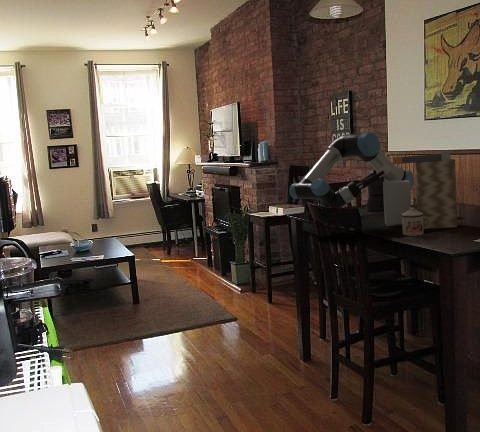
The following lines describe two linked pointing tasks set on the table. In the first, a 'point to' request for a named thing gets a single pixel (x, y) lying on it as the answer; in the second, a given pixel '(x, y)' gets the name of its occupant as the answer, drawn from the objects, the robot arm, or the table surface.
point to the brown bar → (423, 158)
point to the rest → (396, 201)
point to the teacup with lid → (413, 222)
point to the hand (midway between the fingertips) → (389, 166)
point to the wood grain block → (437, 193)
